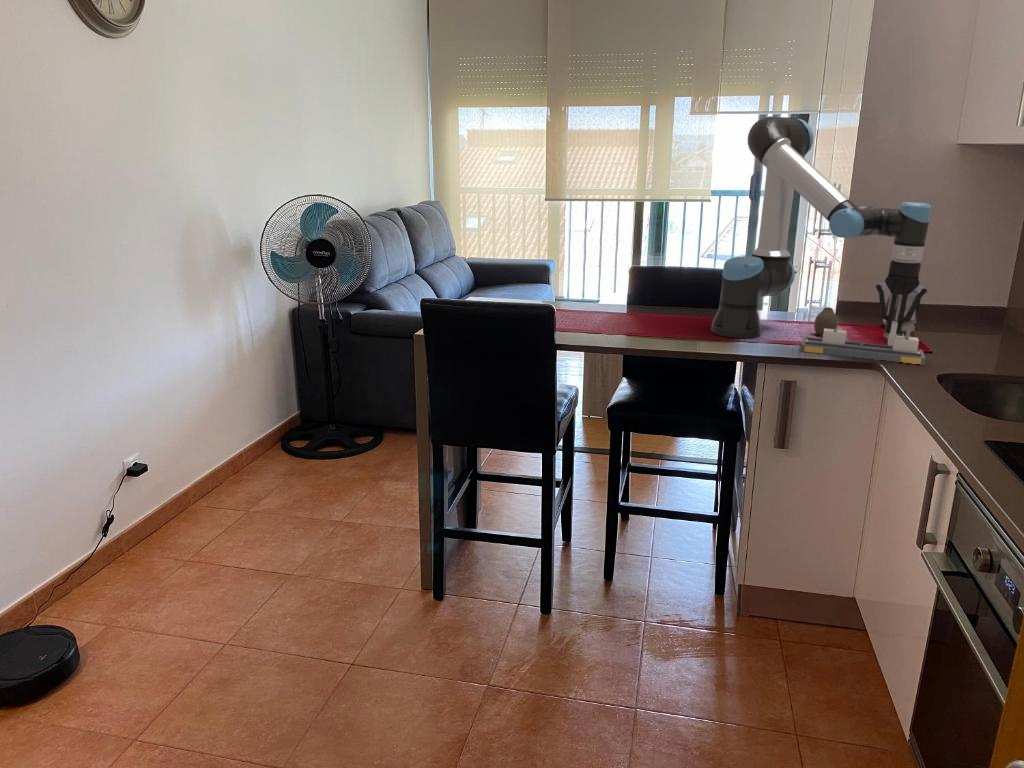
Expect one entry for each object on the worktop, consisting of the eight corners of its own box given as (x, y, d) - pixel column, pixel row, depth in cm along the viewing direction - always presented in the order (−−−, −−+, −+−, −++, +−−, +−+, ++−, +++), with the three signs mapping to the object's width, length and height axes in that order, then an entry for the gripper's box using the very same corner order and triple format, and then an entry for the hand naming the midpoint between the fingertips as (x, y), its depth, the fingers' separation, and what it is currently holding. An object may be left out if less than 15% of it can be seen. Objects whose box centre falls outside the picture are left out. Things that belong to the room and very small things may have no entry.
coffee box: (912, 345, 227) (923, 292, 222) (890, 343, 228) (899, 291, 223) (904, 338, 236) (913, 287, 231) (882, 336, 237) (891, 285, 232)
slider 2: (892, 352, 210) (895, 337, 209) (891, 349, 214) (894, 334, 213) (916, 354, 208) (919, 339, 207) (915, 351, 212) (917, 336, 210)
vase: (839, 335, 237) (843, 308, 234) (831, 339, 232) (835, 311, 230) (817, 331, 242) (821, 304, 239) (809, 335, 237) (813, 307, 234)
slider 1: (821, 344, 217) (824, 330, 216) (822, 341, 221) (824, 327, 219) (844, 347, 215) (846, 332, 214) (844, 343, 218) (846, 329, 217)
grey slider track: (800, 351, 217) (801, 342, 216) (801, 343, 226) (803, 335, 225) (924, 365, 205) (926, 356, 204) (920, 356, 214) (922, 347, 213)
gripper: (880, 260, 204) (865, 344, 211) (934, 264, 199) (917, 350, 206) (879, 257, 210) (865, 339, 217) (931, 261, 206) (914, 344, 213)
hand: (890, 344), depth 212 cm, fingers closed
